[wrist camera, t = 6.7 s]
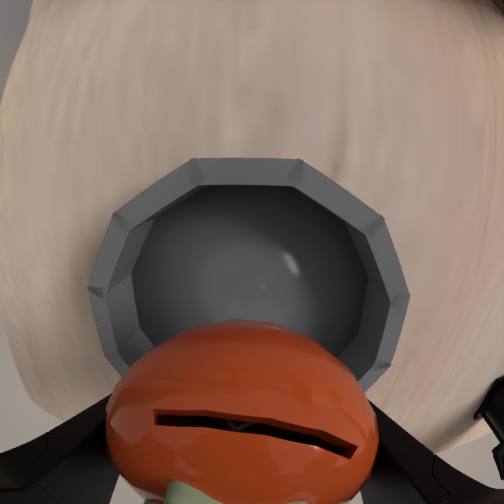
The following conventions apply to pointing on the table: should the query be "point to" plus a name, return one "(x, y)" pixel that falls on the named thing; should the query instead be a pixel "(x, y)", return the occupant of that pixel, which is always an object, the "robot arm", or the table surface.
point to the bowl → (250, 262)
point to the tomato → (241, 420)
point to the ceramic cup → (499, 4)
